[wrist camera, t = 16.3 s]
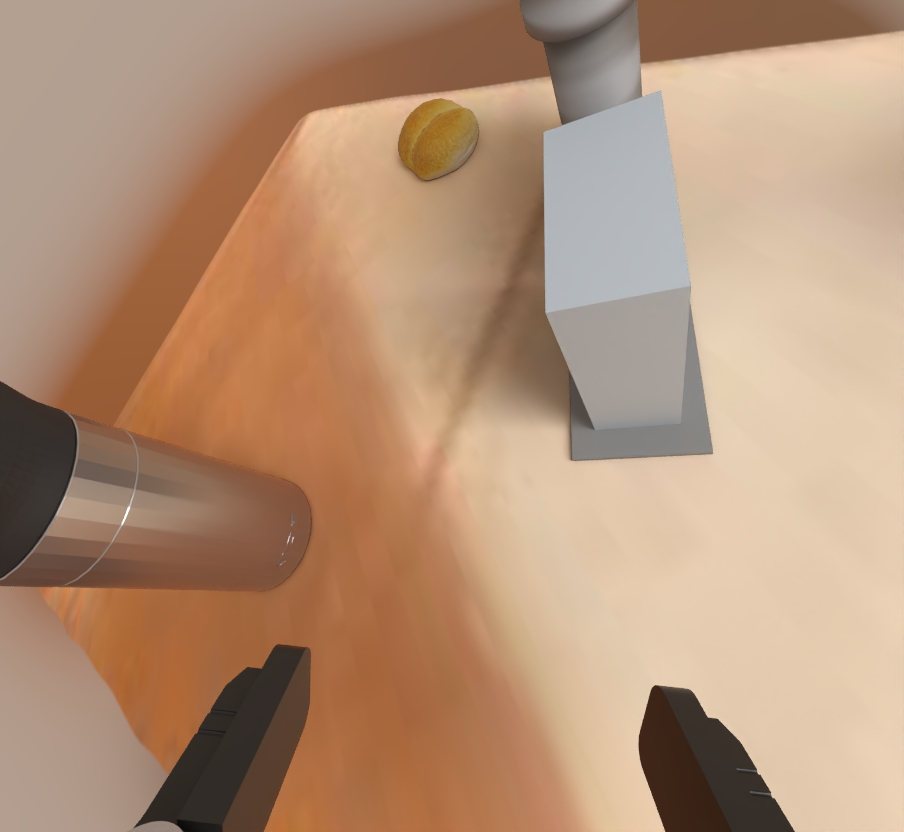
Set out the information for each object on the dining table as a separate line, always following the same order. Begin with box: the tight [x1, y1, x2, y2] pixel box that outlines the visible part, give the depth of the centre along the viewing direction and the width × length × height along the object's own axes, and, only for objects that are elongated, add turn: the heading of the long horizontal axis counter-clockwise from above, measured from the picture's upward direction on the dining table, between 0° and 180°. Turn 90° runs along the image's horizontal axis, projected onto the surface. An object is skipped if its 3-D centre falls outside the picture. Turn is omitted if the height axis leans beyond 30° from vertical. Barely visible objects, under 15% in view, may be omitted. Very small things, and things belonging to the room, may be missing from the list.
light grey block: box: [543, 90, 691, 430], centre depth 24 cm, size 5×10×14 cm, turn 176°
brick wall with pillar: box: [520, 0, 642, 125], centre depth 27 cm, size 16×6×18 cm, turn 176°
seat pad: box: [569, 306, 713, 461], centre depth 30 cm, size 14×8×1 cm, turn 176°
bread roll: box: [398, 99, 479, 180], centre depth 45 cm, size 8×9×4 cm
